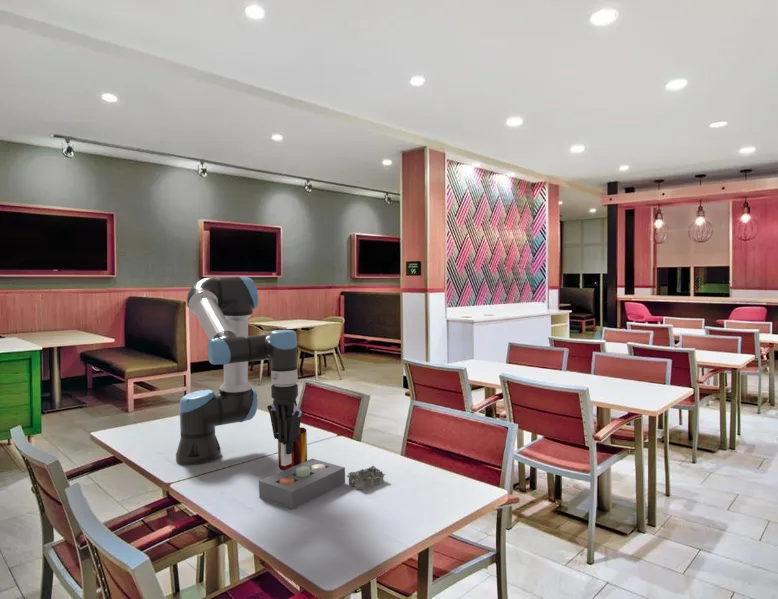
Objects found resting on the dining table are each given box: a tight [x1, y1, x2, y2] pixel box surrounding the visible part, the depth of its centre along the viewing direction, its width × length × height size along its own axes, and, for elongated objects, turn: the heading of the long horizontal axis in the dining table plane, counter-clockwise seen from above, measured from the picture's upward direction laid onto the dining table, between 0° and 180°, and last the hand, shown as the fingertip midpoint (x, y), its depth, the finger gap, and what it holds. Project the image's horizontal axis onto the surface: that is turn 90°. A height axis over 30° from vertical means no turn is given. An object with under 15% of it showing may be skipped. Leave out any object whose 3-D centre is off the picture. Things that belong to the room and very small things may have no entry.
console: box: [258, 458, 346, 511], centre depth 158 cm, size 14×22×5 cm, turn 144°
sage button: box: [296, 466, 310, 478], centre depth 158 cm, size 4×4×3 cm
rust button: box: [280, 477, 294, 486], centre depth 153 cm, size 4×4×3 cm
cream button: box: [311, 464, 325, 471], centre depth 163 cm, size 4×4×3 cm
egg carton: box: [346, 465, 386, 490], centre depth 163 cm, size 11×8×4 cm
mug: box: [277, 426, 308, 471], centre depth 176 cm, size 10×14×12 cm
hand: (286, 464), depth 152 cm, fingers closed
